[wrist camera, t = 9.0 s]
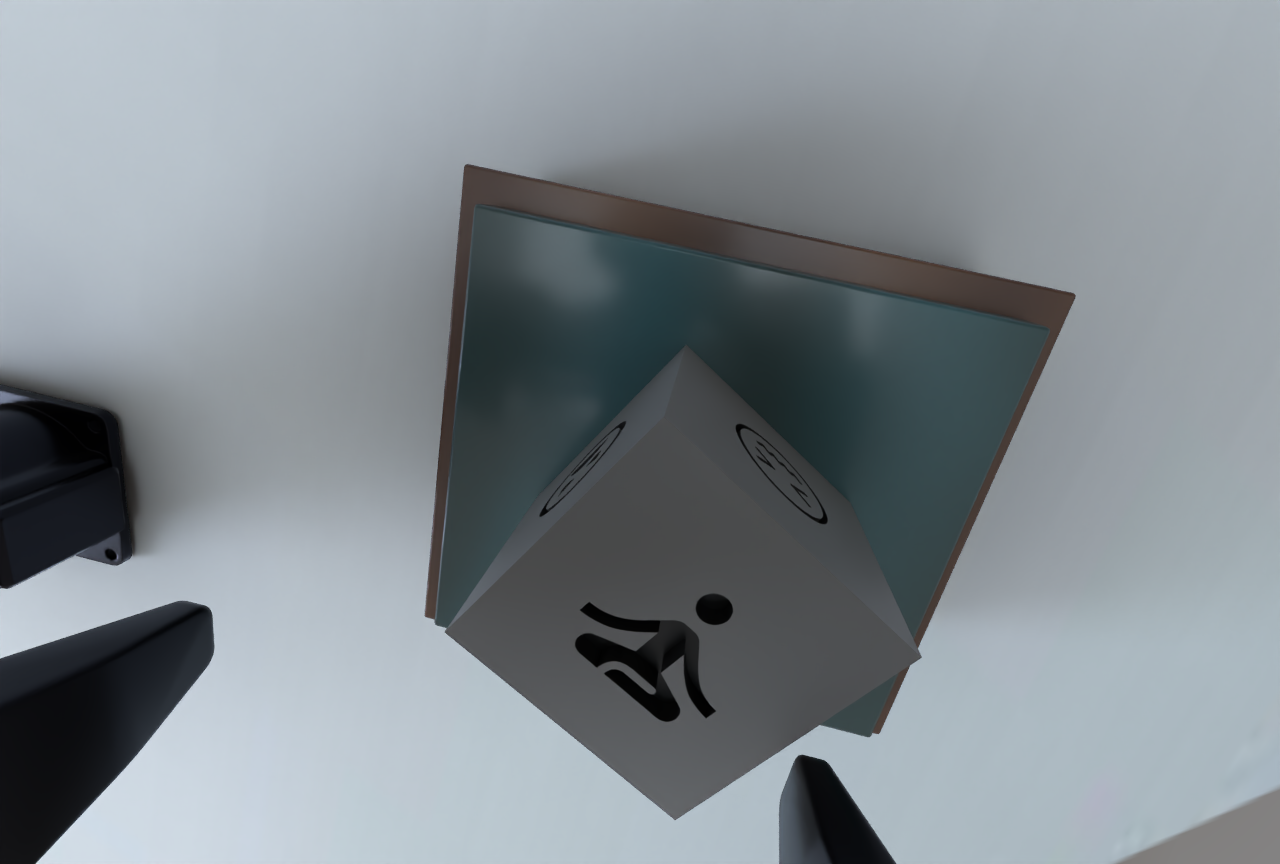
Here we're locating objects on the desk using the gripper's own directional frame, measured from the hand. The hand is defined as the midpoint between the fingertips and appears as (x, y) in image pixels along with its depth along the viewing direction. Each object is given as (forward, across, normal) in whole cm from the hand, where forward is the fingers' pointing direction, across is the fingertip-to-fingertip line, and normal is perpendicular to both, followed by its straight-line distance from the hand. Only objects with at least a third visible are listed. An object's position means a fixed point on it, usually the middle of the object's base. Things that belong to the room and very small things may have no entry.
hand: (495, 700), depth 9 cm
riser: (+12, -3, -1) cm, 12 cm away
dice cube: (+6, -2, -1) cm, 6 cm away
